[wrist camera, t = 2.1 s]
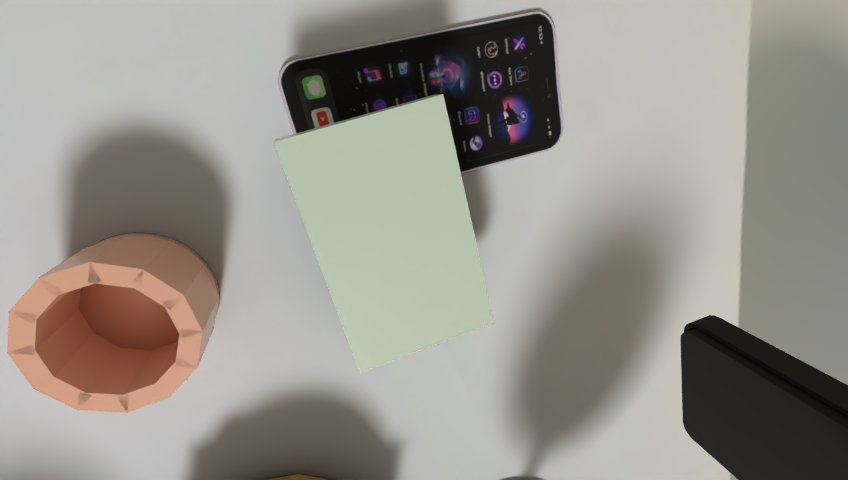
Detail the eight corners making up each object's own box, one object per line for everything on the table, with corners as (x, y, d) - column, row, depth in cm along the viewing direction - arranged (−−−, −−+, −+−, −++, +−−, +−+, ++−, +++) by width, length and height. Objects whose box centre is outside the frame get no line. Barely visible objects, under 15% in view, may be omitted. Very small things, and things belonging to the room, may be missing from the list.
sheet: (275, 139, 19) (273, 142, 18) (434, 94, 20) (443, 94, 19) (357, 358, 23) (360, 373, 22) (484, 311, 24) (494, 322, 23)
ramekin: (36, 259, 21) (-33, 298, 16) (185, 214, 22) (156, 241, 18) (109, 374, 23) (66, 434, 19) (240, 329, 24) (226, 376, 20)
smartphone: (271, 63, 20) (553, 7, 23) (272, 64, 21) (547, 9, 24) (316, 211, 23) (565, 146, 26) (316, 209, 24) (559, 145, 26)
